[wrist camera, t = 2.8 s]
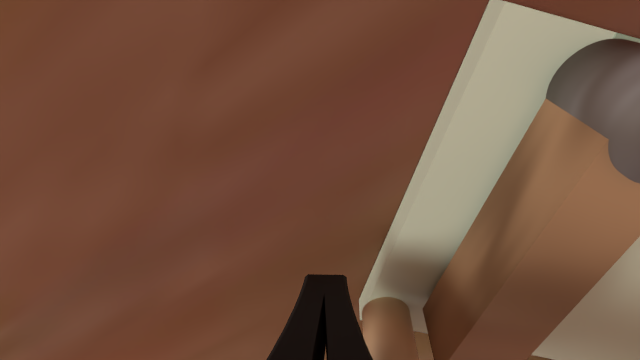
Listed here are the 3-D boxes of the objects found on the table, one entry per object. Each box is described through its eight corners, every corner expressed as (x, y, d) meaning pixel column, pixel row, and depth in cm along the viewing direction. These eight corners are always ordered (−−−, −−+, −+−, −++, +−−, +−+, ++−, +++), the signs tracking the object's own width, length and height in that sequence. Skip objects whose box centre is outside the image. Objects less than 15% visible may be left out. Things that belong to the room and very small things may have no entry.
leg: (581, 27, 10) (674, 50, 7) (673, 52, 10) (798, 85, 7) (419, 308, 16) (435, 379, 13) (478, 320, 16) (506, 393, 13)
